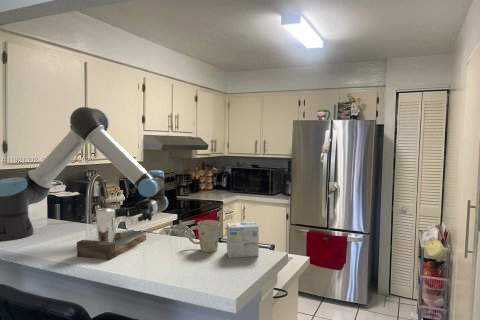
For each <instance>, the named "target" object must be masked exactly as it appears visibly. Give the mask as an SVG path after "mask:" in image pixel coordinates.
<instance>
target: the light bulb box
mask: <svg viewBox="0 0 480 320" xmlns="http://www.w3.org/2000/svg"><path fill="white" fill-rule="evenodd" d="M259 232H260V231H259V225H258V224H257V223H256V222H255V221H253V222H251V221H250V222H248V221H247V222H232V223H231V222H230V223H229V222H226V253H227V256H228V258H229V259H230V258H231V259H232V258H247V257H248V258H249V257H250V258H251V257H259V254H260V253H259V250H260V249H259V248H260V247H259V246H260V244H259V242H260V241H259V237H260V236H259Z"/></svg>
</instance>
